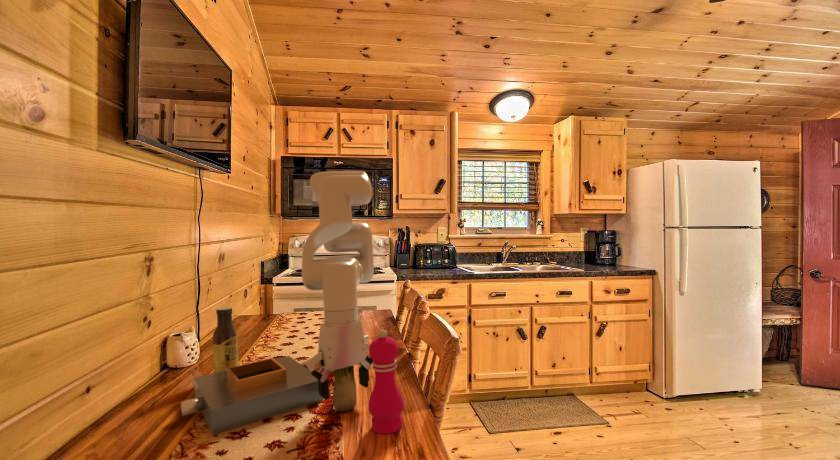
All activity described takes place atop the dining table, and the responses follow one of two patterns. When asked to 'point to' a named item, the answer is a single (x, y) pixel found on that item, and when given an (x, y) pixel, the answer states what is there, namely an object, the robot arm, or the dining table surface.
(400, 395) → the pepper mill
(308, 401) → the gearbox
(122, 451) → the dining table surface
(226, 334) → the sauce bottle
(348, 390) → the fennel bulb
